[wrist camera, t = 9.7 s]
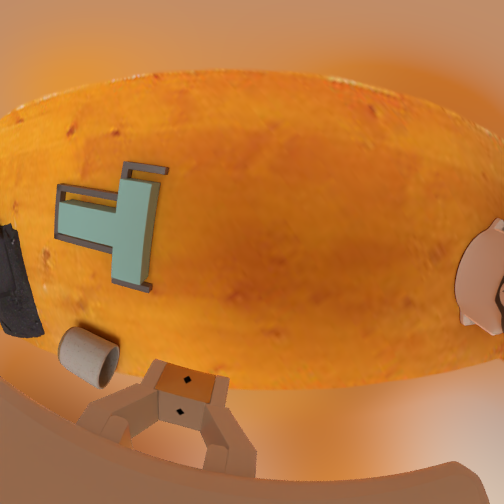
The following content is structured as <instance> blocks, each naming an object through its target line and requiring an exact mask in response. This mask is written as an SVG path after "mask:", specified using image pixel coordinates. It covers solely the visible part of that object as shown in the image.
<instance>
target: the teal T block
mask: <svg viewBox="0 0 504 504" xmlns="http://www.w3.org/2000/svg"><path fill="white" fill-rule="evenodd" d="M159 189H160V183H158V182H152V181H147V180H140V179H134V178H125V179H120V184H119V191H118V199H117V207H116V208H114V207H109V206H104V205H99V204H94V203H89V202H83V201H78V200H73V199H71V200H67V201H62V202H59V215H58V233H62V234H66V235H69V236H73V237H77V238H81V239H85V240H89V241H92V242H96V243H100V244H104V245H108V246H112V247H113V251H112V272H111V277H112V278H115V279H119V280H122V281H126V282H130V283H133V284H137V285H141V283H142V282H143V281H144V280H145V279H146V278H147V277H148V272H149V262H150V252H151V244H152V236H153V228H154V221H155V214H156V207H157V201H158V195H159Z"/></svg>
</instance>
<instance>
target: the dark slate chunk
mask: <svg viewBox="0 0 504 504" xmlns="http://www.w3.org/2000/svg"><path fill="white" fill-rule="evenodd" d="M0 323H1V326H2V328H3V330H4V332H5V333H6V334H9V335H11V336H15V337H20V338H32V337H39V336H41V335H44V330H43V327H42V323H41V321H40V319H39V316H38V313H37V309H36V305H35V303H34V299H33V295H32V291H31V288H30V284H29V281H28V277H27V273H26V269H25V265H24V261H23V257H22V252H21V248H20V241H19V237H18V232H17V231H16V230H13V228H12V225H11V223H10V224H8V225H4V226H0Z"/></svg>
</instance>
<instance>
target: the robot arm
mask: <svg viewBox="0 0 504 504" xmlns="http://www.w3.org/2000/svg"><path fill="white" fill-rule="evenodd" d="M455 295H456V300H457V303H458V305H459V308H460V322H461V323H462V324H463V325H465V326H467V325H472V324H477V325H478V326H480V327H481V328H482V329H484V330H485V331H487V332H488V333H489V334H491V335H493V336H494V335H495V334H496V335H497V334H501V333H504V221H503V220H502V219H500V218H497V219H496V220H495V221H494V222H493V223H492V225H491V226H490V227H489V228H488V229H487V230H486V231H484V232H482V233H480V234H479V235H478V236H477V237H476V238H475V239H474V240H473V241H472V242H471V243H470V245H469V246H468V248H467V249H466V251H465V253H464V255H463V257H462V260H461V262H460V265H459V268H458V272H457V276H456V282H455ZM229 380H230V379H229V378H228V377H223V376H218V375H217V376H216V375H213V374H209V373H204V372H200V371H196V370H192V369H188V368H185V367H181V366H178V365H175V364H171V363H167V362H164V361H161V360H158V359H155V360H154V361H153V362H152V364H151V366H150V368H149V369H148V371H147V373H146V375H145V377H144V378H143V380H142V382H141V384H134V385H132V386H130V387H127V388H125V389H123V390H120V391H118V392H116V393H113V394H111V395H108V396H106V397H103V398H101V399H99V400H96V401H93V402H91V403H89V405H88V406H87V408H86V409H85V411H84V412H83V414H82V415H81V417H80V418H79V420H78V422H77V423H76V424H74V423H72V422H70V421H68V420H67V419H65V418H63V417H61V416H59V415H57V414H56V413H54V412H52V411H50V410H49V409H47V408H46V407H44V406H42V405H41V404H39V403H38V402H36V401H34V400H33V399H31V398H30V397H28V396H27V395H25V394H24V393H22V392H21V391H19V390H18V389H17V388H15V387H14V386H12V385H11V384H10V383H8V382H7V381H6V380H4V379H3V378H2V377H1V376H0V504H490V503H489V500H488V497H487V494H486V492H485V489H484V486H483V484H482V482H481V480H480V478H479V477H478V475H476V474H475V473H474V472H472V471H471V470H470V469H468V468H467V467H465V466H463V465H462V464H460V463H458V462H456V461H451V462H447V463H444V464H440V465H436V466H432V467H428V468H424V469H420V470H415V471H410V472H405V473H400V474H395V475H388V476H381V477H374V478H366V479H355V480H339V481H285V480H271V479H260V478H255V474H256V455H257V451H256V449H255V448H254V447H253V445H252V444H251V442H250V441H249V439H248V438H247V436H246V435H245V433H244V432H243V430H242V429H241V427H240V426H239V424H238V422H237V421H236V419H235V418H234V416H233V415H232V413H231V411H230V410H229V408H225V403H226V397H227V391H228V386H229ZM158 420H161V421H165V422H169V423H172V424H177V425H180V426H183V427H187V428H191V429H194V430H198V431H200V433H201V435H202V437H203V439H204V442H205V444H206V446H207V452H206V457H205V461H204V465H203V469H198V468H194V467H189V466H186V465H182V464H178V463H174V462H171V461H167V460H164V459H160V458H157V457H153V456H151V455H148V454H145V453H142V452H139V451H136V450H134V449H133V446H132V442H131V438H133V437H134V436H136V435H137V434H139V433H140V432H142V431H143V430H145V429H146V428H148V427H149V426H151V425H152V424H154V423H155V422H157V421H158Z"/></svg>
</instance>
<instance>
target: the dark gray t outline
mask: <svg viewBox="0 0 504 504" xmlns="http://www.w3.org/2000/svg"><path fill="white" fill-rule="evenodd" d="M132 170H139V171H146V172H152V173H158V174H164V175H165V174H168V170H169V168H168V167H161V166H155V165H148V164H141V163H134V162H125V161H124V163H123V168H122V174H121V179H125V178H131V174H132ZM66 192H70V193H76V194H82V195H88V196H93V197H99V198H104V199H109V200H115V201H117V199H118V193H117V192H111V191H105V190H99V189H93V188H87V187H81V186H75V185H68V184H57V194H56V207H55V228H54V238H55V239H58V240H62V241H65V242H69V243H72V244H76V245H80V246H83V247H87V248H91V249H95V250H98V251H102V252H106V253H110V254H112V251H113V247H112V246H108V245H104V244H100V243H96V242H92V241H89V240H85V239H81V238H77V237H73V236H69V235H66V234H62V233H58V215H59V202H62V201H65V194H66ZM112 283H114V284H117V285H121V286H124V287H128V288H132V289H135V290H139V291H143V292H146V293H149V292H150V291H151V290H152V284H151V283H147V282H142V283H141V285H137V284H133V283H130V282H126V281H122V280H119V279H115V278H112Z"/></svg>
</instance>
